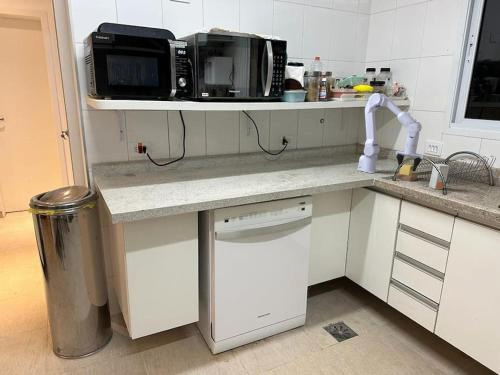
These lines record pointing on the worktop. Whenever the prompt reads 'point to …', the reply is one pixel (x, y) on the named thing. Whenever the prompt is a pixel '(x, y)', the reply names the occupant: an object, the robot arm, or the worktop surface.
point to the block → (406, 169)
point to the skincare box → (438, 176)
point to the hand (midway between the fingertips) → (406, 169)
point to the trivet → (406, 177)
